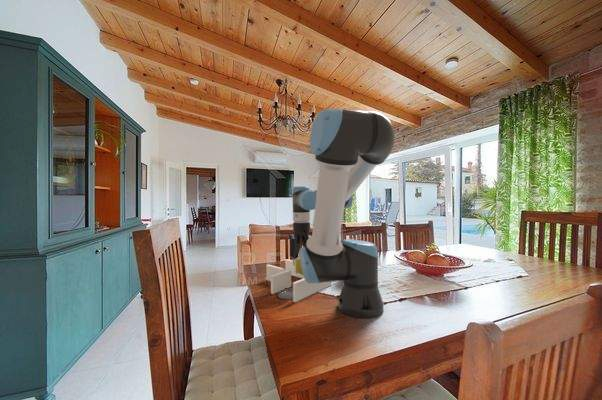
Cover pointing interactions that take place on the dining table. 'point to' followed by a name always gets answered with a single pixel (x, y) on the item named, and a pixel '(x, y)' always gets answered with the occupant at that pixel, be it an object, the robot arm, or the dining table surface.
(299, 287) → the bent lane
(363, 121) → the robot arm
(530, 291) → the dining table surface
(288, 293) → the pad
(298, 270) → the lemon
